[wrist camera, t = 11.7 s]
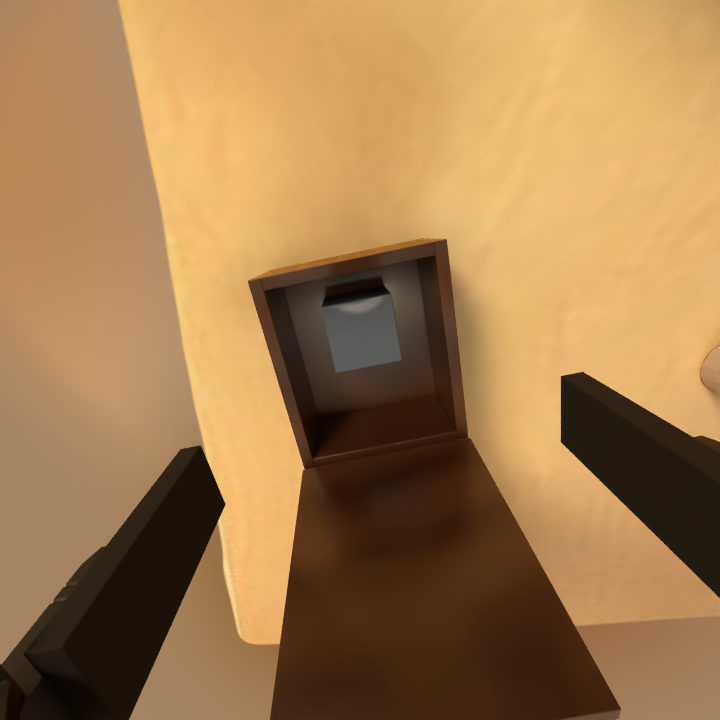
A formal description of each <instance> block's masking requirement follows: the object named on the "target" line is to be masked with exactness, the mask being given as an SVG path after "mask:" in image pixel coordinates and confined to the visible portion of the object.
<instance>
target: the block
mask: <svg viewBox="0 0 720 720" xmlns="http://www.w3.org/2000/svg"><path fill="white" fill-rule="evenodd" d="M321 312H322V316H323V320H324V325H325V329H326V333H327V337H328V342H329V346H330V350H331V355H332V359H333V363H334V367H335V372H336V373H340V372H345V371H350V370H355V369H360V368H365V367H370V366H375V365H381V364H386V363H391V362H396V361H401V360H402V356H401V350H400V344H399V338H398V332H397V326H396V319H395V313H394V307H393V301H392V295H391V293H390V292H389V291H388V289H387V288H386V287H385V286H384V285H383V286H378V287H373V288H368V289H363V290H358V291H353V292H348V293H343V294H338V295H333V296H328V297H324V300H323V303H322V306H321Z"/></svg>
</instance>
